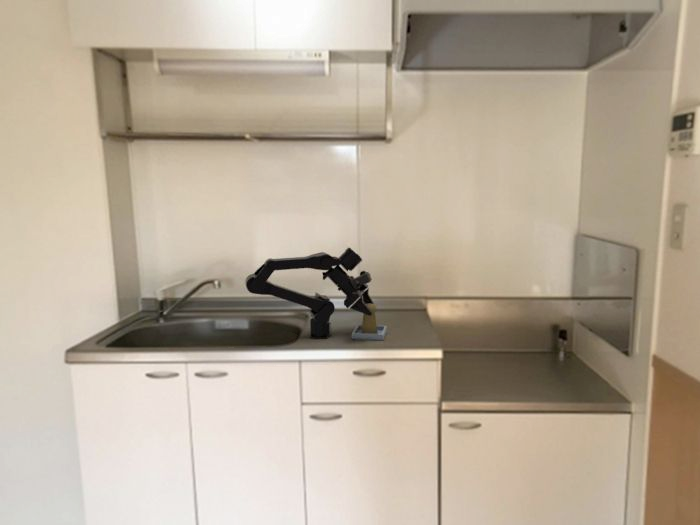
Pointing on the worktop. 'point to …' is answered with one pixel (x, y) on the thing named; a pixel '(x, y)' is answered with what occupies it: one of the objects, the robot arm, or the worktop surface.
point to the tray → (365, 336)
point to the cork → (369, 321)
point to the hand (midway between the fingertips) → (373, 311)
